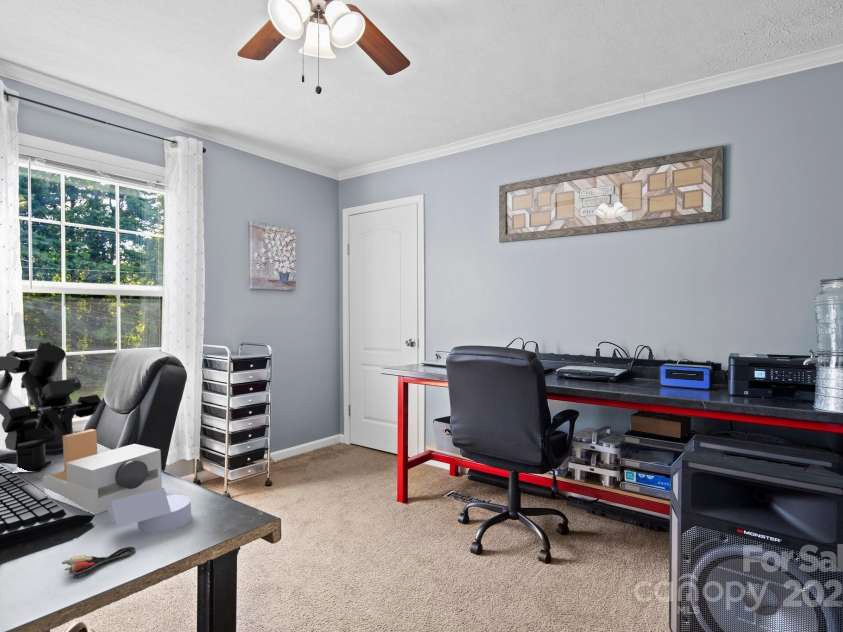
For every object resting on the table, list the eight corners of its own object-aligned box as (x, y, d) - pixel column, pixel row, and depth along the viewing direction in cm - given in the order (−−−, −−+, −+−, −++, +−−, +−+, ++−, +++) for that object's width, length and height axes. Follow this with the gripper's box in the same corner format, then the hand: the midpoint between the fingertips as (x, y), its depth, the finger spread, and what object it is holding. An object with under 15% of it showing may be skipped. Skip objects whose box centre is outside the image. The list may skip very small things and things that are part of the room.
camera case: (44, 496, 104) (42, 455, 103) (111, 474, 116) (110, 438, 116) (100, 517, 93) (98, 471, 93) (167, 490, 105) (165, 450, 105)
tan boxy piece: (50, 479, 105) (48, 439, 104) (105, 462, 115) (104, 426, 114) (69, 485, 101) (67, 444, 100) (125, 468, 111) (123, 430, 111)
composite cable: (134, 550, 81) (133, 535, 81) (138, 561, 77) (138, 547, 77) (61, 571, 75) (61, 556, 75) (63, 585, 71) (62, 569, 71)
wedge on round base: (118, 547, 82) (197, 522, 90) (116, 508, 81) (196, 487, 90) (108, 528, 88) (183, 507, 97) (106, 493, 88) (182, 474, 97)
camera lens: (54, 457, 129) (52, 403, 129) (30, 456, 131) (28, 402, 130) (81, 448, 137) (79, 397, 137) (58, 446, 139) (56, 396, 138)
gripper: (4, 373, 105) (31, 428, 100) (95, 362, 121) (122, 409, 117) (-9, 405, 109) (16, 459, 104) (80, 390, 126) (106, 436, 121)
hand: (68, 439), depth 111 cm, fingers closed
